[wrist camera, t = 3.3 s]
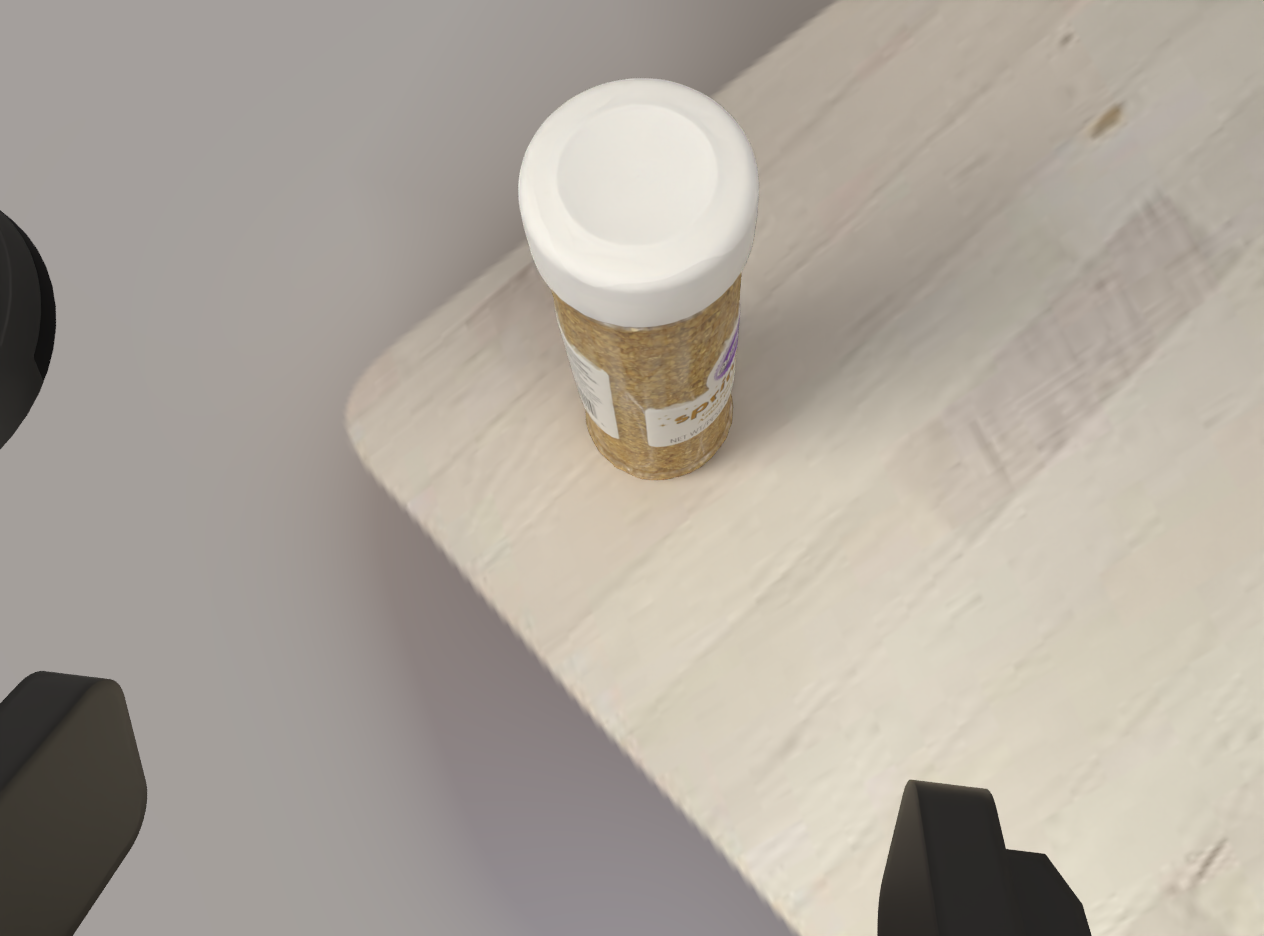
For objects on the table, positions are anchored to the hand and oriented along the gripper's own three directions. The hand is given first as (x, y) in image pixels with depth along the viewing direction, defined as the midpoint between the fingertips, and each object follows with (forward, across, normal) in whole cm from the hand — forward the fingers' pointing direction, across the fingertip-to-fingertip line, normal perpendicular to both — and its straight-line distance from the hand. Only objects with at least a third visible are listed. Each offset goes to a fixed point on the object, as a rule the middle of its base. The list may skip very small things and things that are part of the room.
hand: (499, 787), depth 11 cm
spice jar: (+22, 0, +6) cm, 22 cm away
